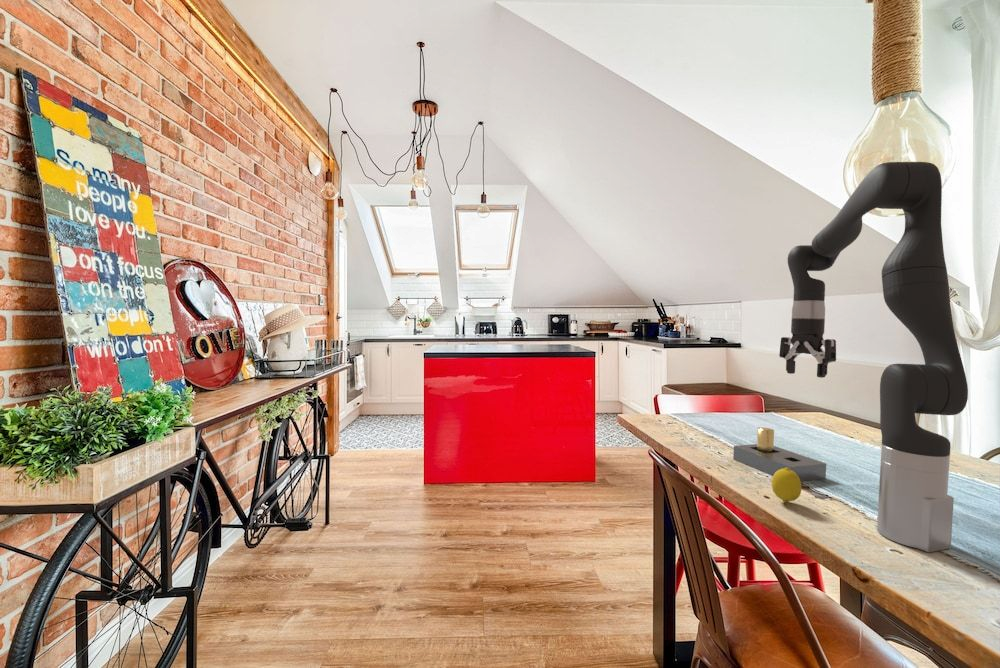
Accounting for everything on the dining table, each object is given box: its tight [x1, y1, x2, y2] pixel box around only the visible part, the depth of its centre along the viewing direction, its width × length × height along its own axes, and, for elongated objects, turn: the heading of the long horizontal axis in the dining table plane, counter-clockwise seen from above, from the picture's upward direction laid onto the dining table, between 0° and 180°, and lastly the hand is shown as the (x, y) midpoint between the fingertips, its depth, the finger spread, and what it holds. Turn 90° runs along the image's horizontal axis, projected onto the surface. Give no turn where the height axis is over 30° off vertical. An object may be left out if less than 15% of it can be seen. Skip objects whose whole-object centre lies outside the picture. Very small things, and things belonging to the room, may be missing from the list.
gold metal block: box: [756, 426, 775, 454], centre depth 121 cm, size 4×4×10 cm
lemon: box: [771, 468, 802, 504], centre depth 95 cm, size 6×6×8 cm
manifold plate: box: [732, 443, 827, 482], centre depth 117 cm, size 18×12×4 cm, turn 16°
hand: (805, 375), depth 118 cm, fingers open, 8 cm apart
